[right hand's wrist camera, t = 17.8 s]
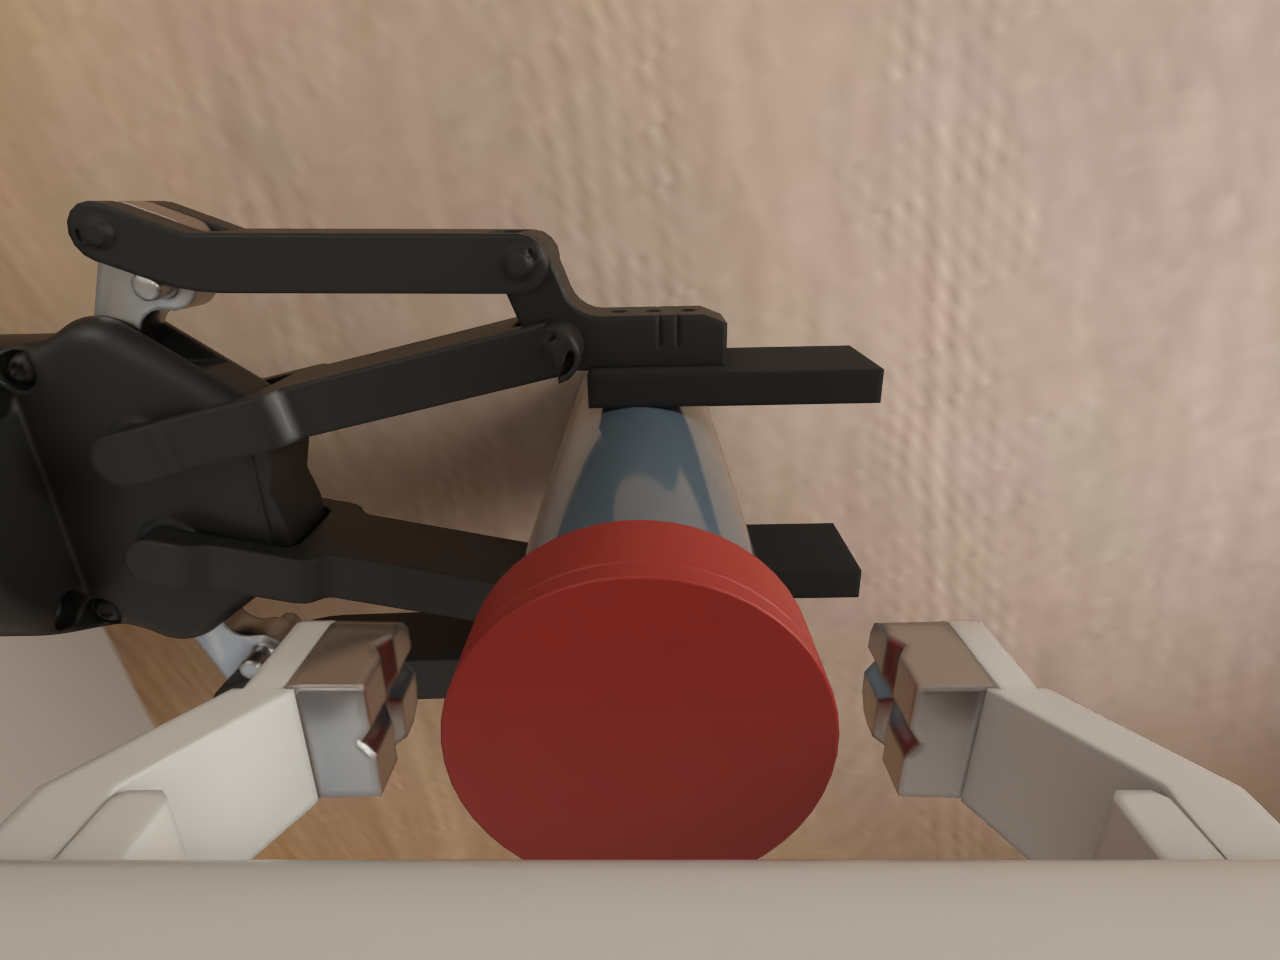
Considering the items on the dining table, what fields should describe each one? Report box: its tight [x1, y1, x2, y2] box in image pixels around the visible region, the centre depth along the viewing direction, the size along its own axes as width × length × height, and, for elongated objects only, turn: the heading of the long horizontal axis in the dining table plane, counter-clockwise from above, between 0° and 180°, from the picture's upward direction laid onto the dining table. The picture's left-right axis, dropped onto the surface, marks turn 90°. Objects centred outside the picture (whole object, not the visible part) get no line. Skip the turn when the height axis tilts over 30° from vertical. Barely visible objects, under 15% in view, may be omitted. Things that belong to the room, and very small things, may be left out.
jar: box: [523, 371, 756, 558], centre depth 16 cm, size 4×4×15 cm
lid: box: [441, 520, 839, 860], centre depth 9 cm, size 5×5×2 cm
